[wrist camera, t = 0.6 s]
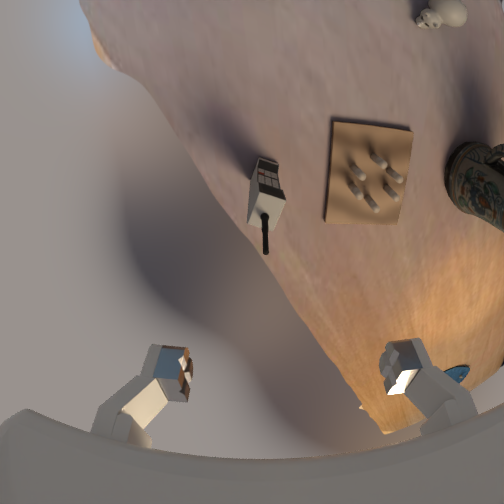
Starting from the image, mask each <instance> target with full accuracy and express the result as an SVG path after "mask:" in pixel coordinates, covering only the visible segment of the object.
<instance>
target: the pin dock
mask: <svg viewBox="0 0 504 504" xmlns="http://www.w3.org/2000/svg"><path fill="white" fill-rule="evenodd" d="M413 134H414V132H412V131H407V130H402V129H396V128H389V127H382V126H375V125H367V124H358V123H349V122H338V121H333V122H332V140H331V155H330V168H329V180H328V191H327V201H326V211H325V220H324V221H325V223H326V224H378V225H397V222H398V218H399V214H400V209H401V205H402V200H403V195H404V190H405V185H406V180H407V174H408V168H409V162H410V156H411V149H412V142H413Z"/></svg>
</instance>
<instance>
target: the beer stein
mask: <svg viewBox="0 0 504 504" xmlns="http://www.w3.org/2000/svg"><path fill="white" fill-rule="evenodd" d="M502 157H504V144H500V145H498V146H495V147H494V148H493V149H491V148H490V147H489V146H487V145H485V144H483V143H477V142H466V143H464V144H462V145H460V146H459V147H457V148H456V150H455V151H454V152H453V153H452V155H451V156H450V158H449V161H448V163H447V166H446V168H445V178H444V180H445V187H446V190H447V193H448V196H449V197H450V199H451V200H452V202H453V203H454V205H455V206H456V207H457V208H458V209H459V210H461V211H462V212H464V213H467V214H471V215H474V216H477V217H479V218H481V219H483V220H485V221H486V222H488V223H490V224H491V225H493V226H494V227H496V228H498V229H499V230H501V231H502V232H504V161H503V160H501V158H502Z"/></svg>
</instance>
